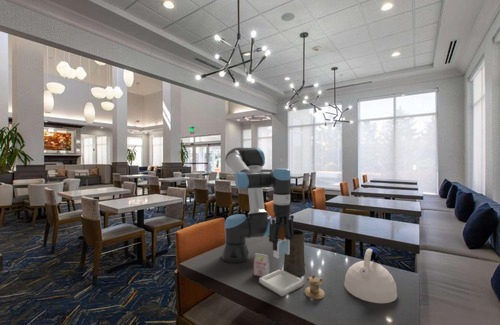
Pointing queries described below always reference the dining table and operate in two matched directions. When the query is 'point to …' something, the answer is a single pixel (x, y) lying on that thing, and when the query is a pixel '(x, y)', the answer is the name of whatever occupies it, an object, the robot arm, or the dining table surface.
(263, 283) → the tray
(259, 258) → the white cardboard box
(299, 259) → the beer stein
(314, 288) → the stand
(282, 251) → the ball
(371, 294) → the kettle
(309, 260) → the dining table surface
